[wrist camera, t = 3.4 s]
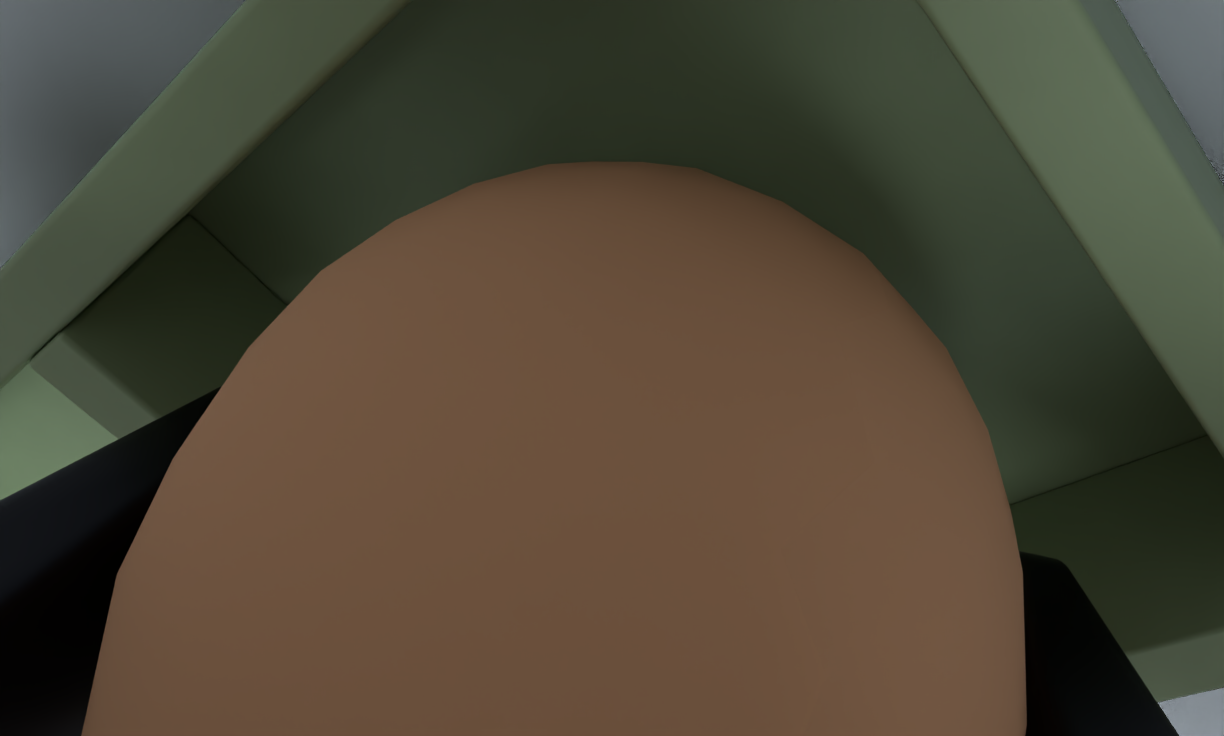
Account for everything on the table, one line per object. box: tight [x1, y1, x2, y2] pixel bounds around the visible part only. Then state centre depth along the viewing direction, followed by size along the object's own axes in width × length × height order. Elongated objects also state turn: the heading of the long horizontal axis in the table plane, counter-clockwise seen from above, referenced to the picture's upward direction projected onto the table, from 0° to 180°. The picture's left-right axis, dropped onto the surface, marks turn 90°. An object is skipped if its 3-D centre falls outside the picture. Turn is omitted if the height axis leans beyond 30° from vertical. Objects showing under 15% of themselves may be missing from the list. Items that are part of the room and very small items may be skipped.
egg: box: [81, 161, 1027, 736], centre depth 8 cm, size 7×7×9 cm
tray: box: [0, 0, 1224, 703], centre depth 14 cm, size 10×19×3 cm, turn 131°
